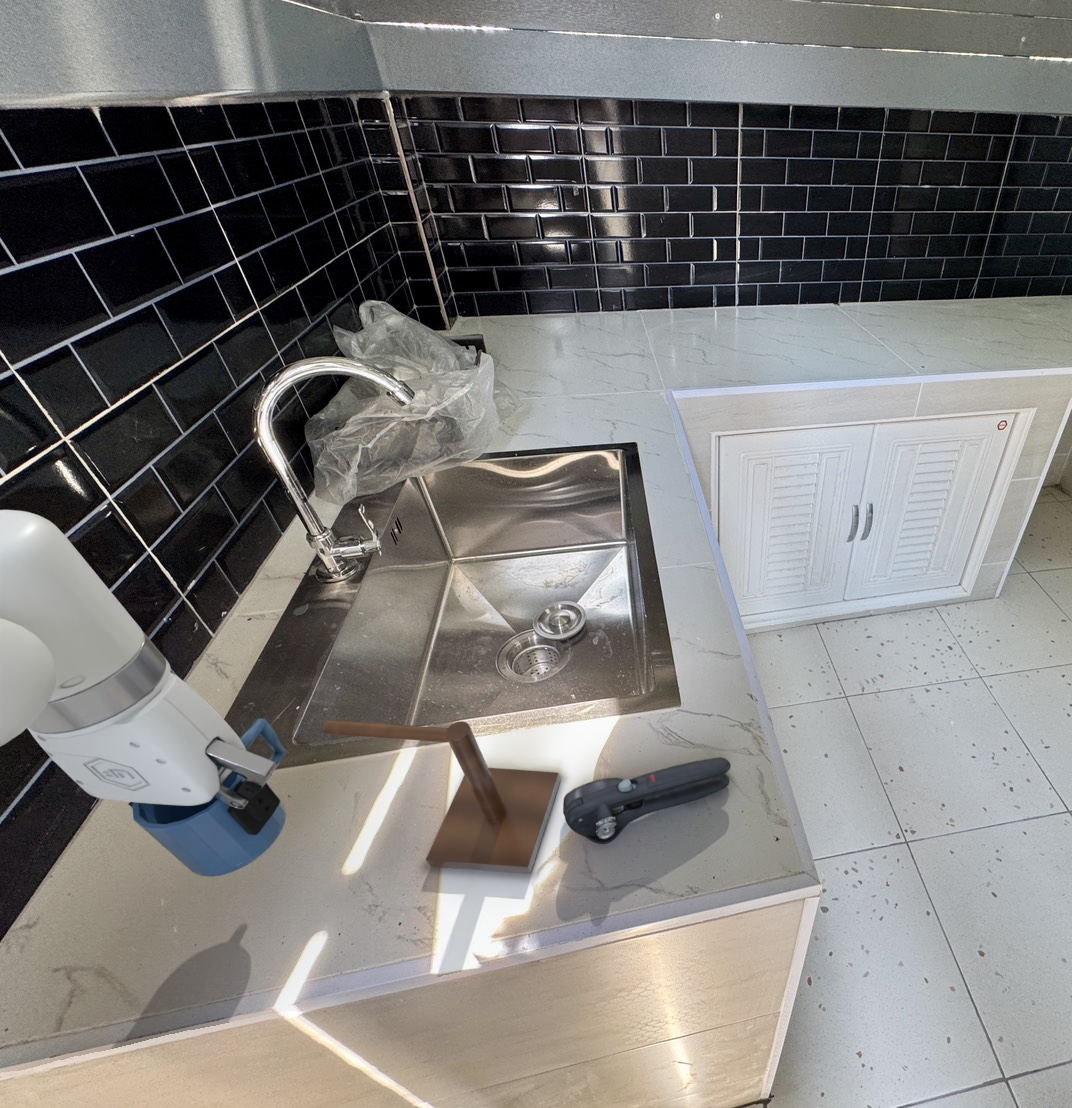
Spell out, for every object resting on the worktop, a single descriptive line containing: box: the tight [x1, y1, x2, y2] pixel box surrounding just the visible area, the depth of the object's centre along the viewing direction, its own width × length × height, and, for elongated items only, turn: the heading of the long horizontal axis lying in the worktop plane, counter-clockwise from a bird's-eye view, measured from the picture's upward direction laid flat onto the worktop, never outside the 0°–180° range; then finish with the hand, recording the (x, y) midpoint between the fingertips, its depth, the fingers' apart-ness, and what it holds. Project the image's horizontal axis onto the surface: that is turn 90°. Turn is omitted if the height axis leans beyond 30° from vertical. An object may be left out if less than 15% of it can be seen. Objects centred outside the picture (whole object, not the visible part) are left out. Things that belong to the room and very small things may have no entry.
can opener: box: [562, 756, 732, 845], centre depth 62 cm, size 18×7×6 cm, turn 109°
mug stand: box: [322, 719, 561, 875], centre depth 58 cm, size 10×17×16 cm, turn 86°
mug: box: [131, 718, 289, 878], centre depth 53 cm, size 11×7×8 cm, turn 176°
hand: (219, 814), depth 52 cm, fingers closed on mug, 7 cm apart
